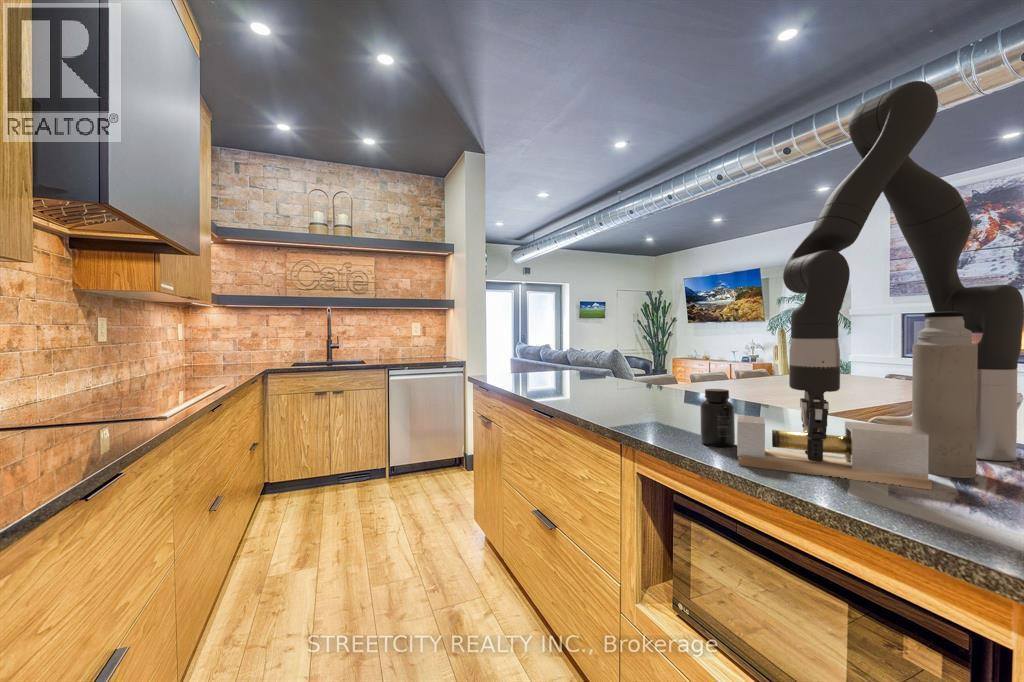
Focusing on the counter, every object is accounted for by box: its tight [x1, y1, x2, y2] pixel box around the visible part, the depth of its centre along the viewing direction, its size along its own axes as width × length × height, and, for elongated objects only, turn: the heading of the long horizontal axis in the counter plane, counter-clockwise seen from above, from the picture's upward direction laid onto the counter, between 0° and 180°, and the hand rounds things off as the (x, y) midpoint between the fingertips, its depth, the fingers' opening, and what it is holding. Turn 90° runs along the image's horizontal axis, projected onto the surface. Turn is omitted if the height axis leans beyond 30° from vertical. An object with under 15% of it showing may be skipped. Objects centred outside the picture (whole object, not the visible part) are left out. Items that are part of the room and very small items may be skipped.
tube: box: [771, 429, 851, 456], centre depth 77 cm, size 16×3×3 cm, turn 61°
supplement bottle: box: [699, 388, 736, 448], centre depth 94 cm, size 7×7×12 cm
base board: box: [738, 448, 933, 490], centre depth 77 cm, size 10×26×1 cm, turn 61°
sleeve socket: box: [736, 414, 929, 479], centre depth 77 cm, size 7×27×7 cm, turn 61°
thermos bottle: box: [911, 311, 978, 479], centre depth 75 cm, size 8×8×28 cm
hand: (813, 457), depth 78 cm, fingers closed on tube, 3 cm apart
